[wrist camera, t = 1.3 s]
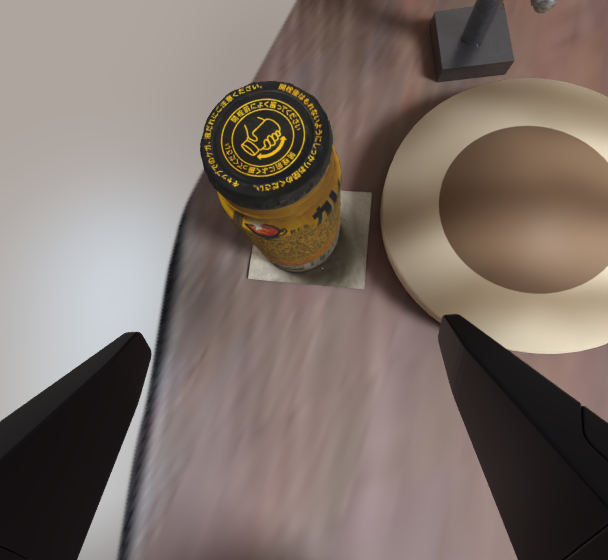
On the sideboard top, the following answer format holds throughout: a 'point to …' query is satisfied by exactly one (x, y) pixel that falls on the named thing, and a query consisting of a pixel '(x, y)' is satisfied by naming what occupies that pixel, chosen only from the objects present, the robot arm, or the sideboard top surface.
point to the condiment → (286, 186)
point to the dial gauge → (474, 40)
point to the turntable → (507, 213)
